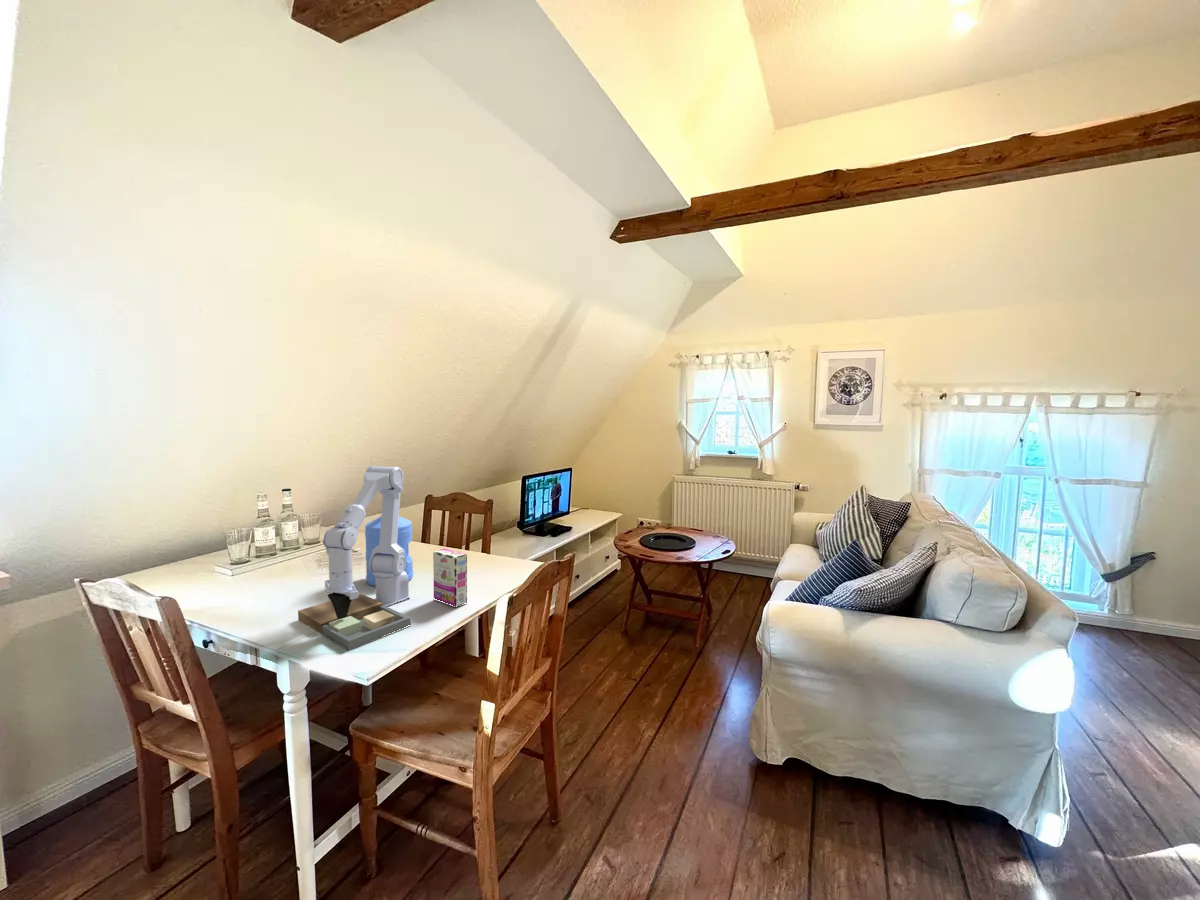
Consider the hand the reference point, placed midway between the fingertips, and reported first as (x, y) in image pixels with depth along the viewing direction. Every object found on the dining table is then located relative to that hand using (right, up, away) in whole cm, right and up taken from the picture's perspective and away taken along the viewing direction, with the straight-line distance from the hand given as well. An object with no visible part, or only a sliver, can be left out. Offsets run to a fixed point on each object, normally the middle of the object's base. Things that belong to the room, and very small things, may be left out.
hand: (342, 617), depth 137 cm
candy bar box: (+24, -3, +22) cm, 32 cm away
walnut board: (-5, -3, +9) cm, 11 cm away
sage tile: (+1, -3, -1) cm, 4 cm away
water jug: (-4, 0, +40) cm, 41 cm away
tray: (+7, -4, +1) cm, 8 cm away
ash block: (+9, -1, +3) cm, 9 cm away
